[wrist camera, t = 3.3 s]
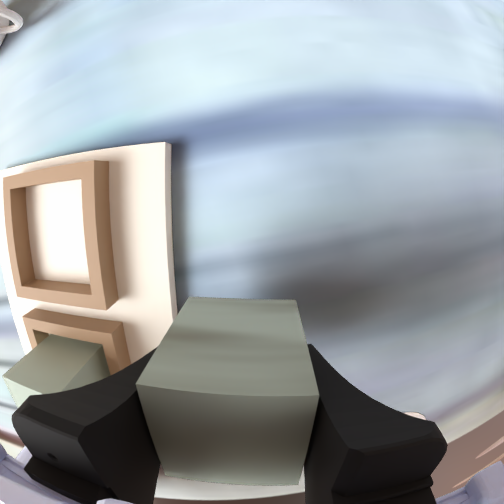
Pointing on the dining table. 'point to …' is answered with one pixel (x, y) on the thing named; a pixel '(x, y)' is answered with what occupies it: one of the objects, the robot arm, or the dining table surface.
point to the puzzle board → (87, 264)
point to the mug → (3, 16)
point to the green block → (232, 393)
